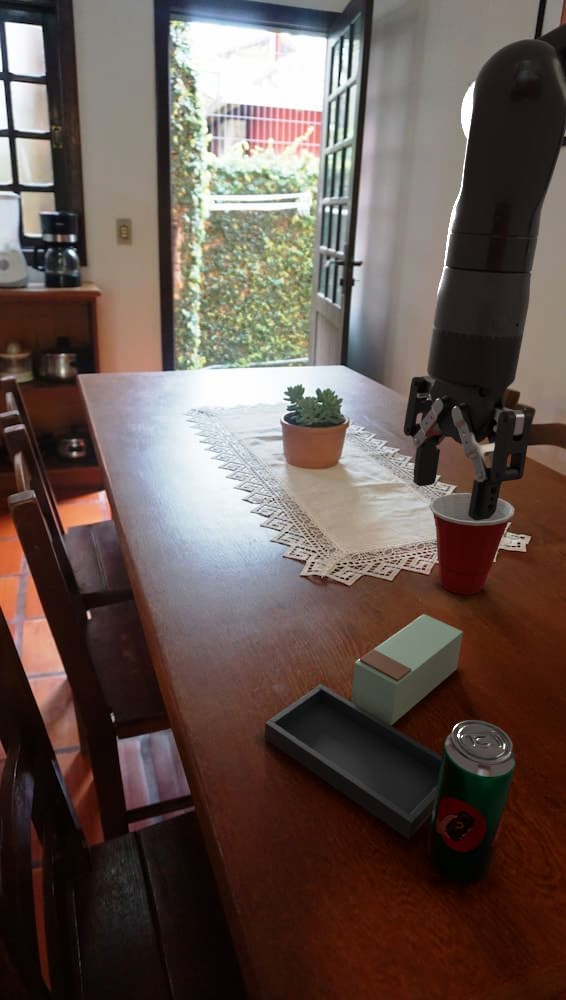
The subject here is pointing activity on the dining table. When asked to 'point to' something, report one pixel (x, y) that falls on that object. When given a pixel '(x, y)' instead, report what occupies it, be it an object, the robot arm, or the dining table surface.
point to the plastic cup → (466, 541)
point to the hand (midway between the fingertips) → (450, 500)
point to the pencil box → (405, 668)
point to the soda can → (470, 801)
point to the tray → (360, 757)
